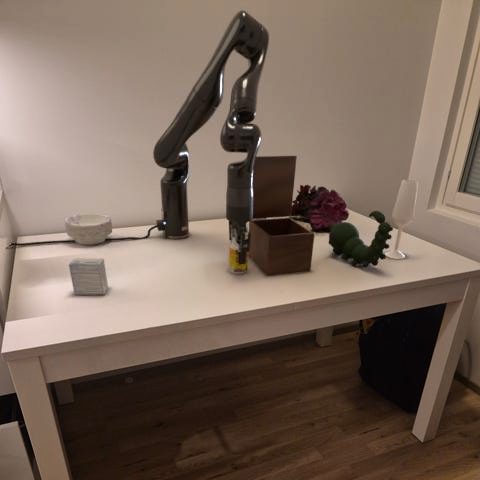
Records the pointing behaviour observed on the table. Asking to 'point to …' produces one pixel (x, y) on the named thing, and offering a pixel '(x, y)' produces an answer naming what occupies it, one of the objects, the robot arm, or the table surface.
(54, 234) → the table surface
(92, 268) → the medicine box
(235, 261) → the supplement bottle
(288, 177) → the lid
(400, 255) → the champagne flute
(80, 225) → the white stone bowl
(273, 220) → the chest
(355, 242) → the toy figurine
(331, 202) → the flower arrangement
